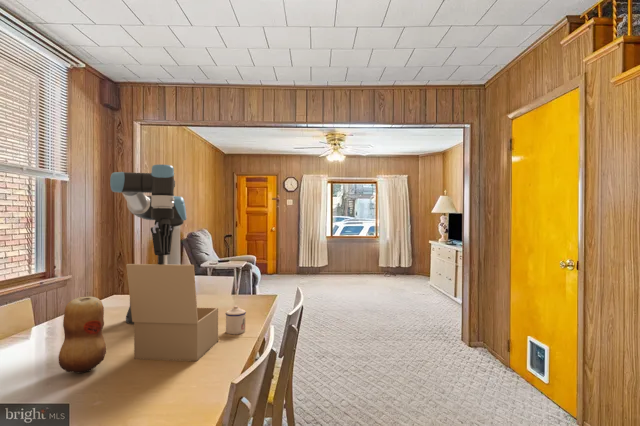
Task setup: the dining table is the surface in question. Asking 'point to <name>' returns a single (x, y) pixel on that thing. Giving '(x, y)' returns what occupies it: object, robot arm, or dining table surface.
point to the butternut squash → (83, 335)
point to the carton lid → (162, 293)
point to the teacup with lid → (235, 320)
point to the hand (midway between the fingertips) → (162, 273)
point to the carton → (177, 338)
